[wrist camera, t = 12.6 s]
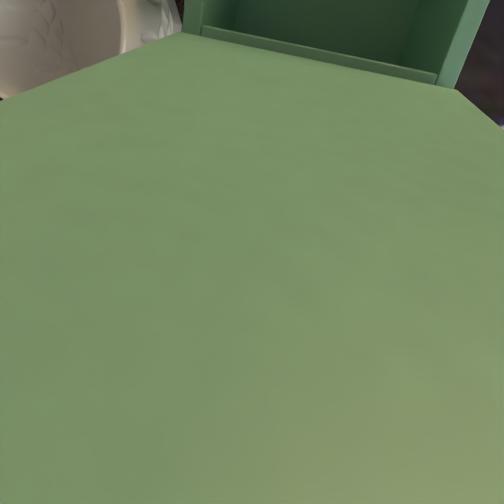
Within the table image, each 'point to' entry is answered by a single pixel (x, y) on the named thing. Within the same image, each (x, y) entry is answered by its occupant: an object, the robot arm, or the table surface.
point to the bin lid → (249, 285)
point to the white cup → (73, 36)
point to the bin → (350, 32)
